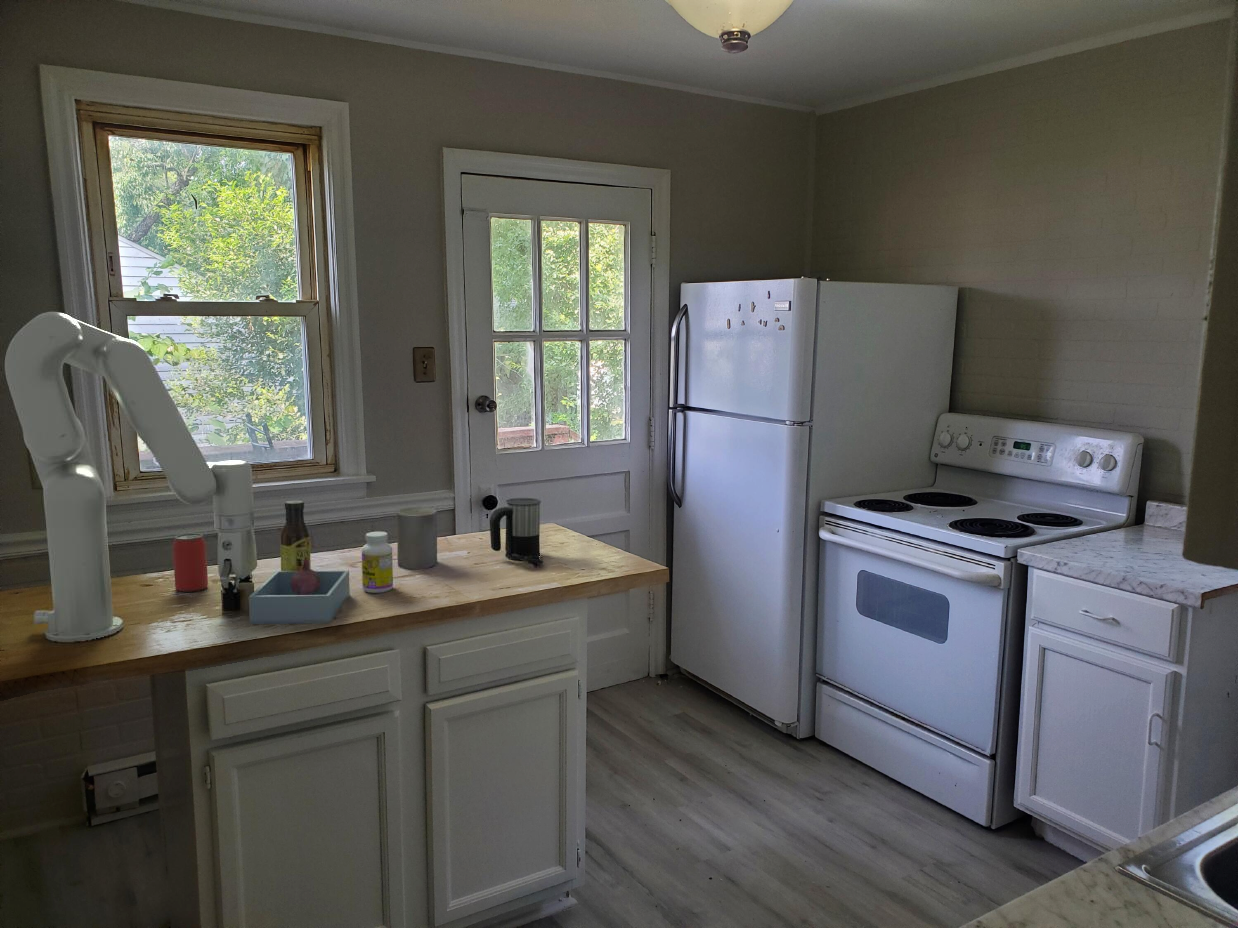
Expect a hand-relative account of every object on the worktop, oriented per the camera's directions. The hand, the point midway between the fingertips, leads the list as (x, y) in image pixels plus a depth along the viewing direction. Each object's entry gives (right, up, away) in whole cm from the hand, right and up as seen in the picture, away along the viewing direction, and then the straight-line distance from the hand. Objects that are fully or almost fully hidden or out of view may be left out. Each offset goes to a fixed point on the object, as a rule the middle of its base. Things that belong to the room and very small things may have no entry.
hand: (238, 604), depth 182 cm
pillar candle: (+29, +4, +37) cm, 47 cm away
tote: (+13, -1, +1) cm, 13 cm away
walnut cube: (0, -1, 0) cm, 1 cm away
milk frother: (+55, +4, +42) cm, 70 cm away
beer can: (-16, +1, +14) cm, 21 cm away
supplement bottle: (+25, +1, +15) cm, 29 cm away
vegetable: (+12, 0, +5) cm, 13 cm away
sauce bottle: (+7, +1, +15) cm, 16 cm away
